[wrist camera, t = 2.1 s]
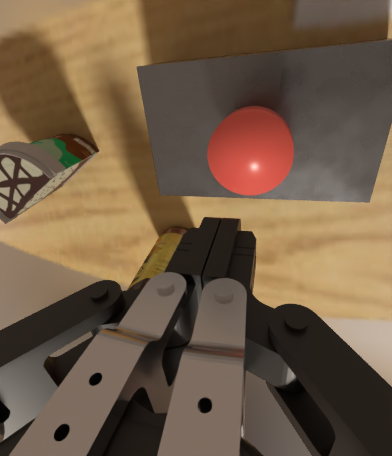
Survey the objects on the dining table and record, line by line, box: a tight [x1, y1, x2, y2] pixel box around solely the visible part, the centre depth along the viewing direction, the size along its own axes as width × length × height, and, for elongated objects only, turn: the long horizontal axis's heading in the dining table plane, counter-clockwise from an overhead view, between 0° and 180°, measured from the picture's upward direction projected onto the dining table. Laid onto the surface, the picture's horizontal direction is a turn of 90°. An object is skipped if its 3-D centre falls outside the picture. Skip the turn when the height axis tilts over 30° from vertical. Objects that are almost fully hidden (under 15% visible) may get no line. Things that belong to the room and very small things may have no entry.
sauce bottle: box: [128, 227, 188, 290], centre depth 33 cm, size 7×6×20 cm
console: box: [137, 39, 392, 202], centre depth 26 cm, size 20×12×6 cm, turn 96°
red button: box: [207, 106, 294, 195], centre depth 22 cm, size 6×6×7 cm
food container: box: [0, 134, 99, 224], centre depth 33 cm, size 12×6×10 cm, turn 129°
